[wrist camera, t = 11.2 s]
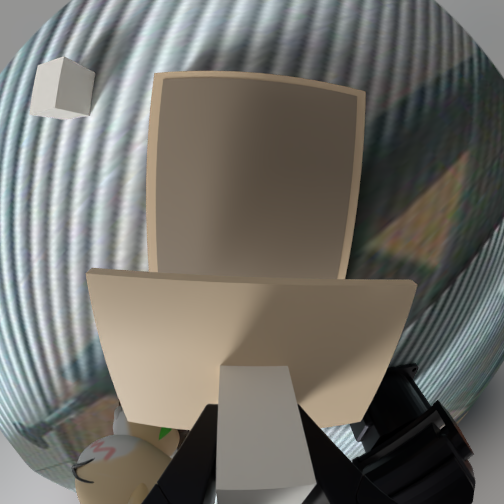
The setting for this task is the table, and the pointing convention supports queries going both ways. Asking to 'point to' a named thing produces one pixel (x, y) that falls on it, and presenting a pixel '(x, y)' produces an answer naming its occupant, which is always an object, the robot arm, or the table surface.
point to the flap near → (248, 362)
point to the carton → (252, 174)
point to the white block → (62, 90)
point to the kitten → (124, 462)
